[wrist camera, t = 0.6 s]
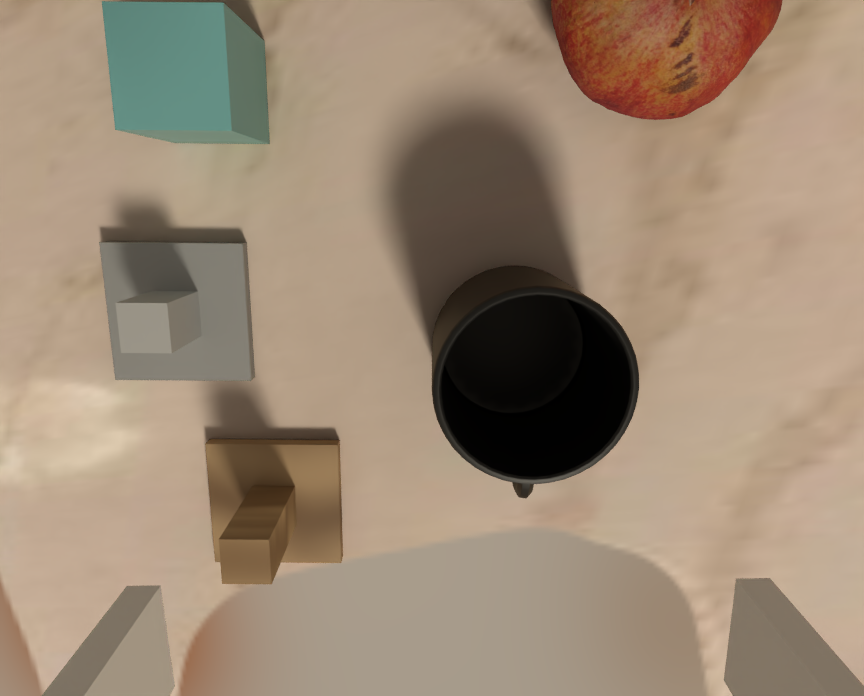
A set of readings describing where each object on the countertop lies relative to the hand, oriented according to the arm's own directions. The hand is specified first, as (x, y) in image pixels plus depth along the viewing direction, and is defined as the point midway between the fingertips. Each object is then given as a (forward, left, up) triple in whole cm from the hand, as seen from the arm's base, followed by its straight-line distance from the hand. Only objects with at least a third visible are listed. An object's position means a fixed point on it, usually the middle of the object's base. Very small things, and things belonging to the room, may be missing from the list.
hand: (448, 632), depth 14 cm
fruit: (-19, +10, -24) cm, 32 cm away
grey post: (-3, -15, -23) cm, 28 cm away
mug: (0, +4, -24) cm, 24 cm away
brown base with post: (+9, -10, -23) cm, 27 cm away
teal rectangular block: (-15, -12, -23) cm, 30 cm away
